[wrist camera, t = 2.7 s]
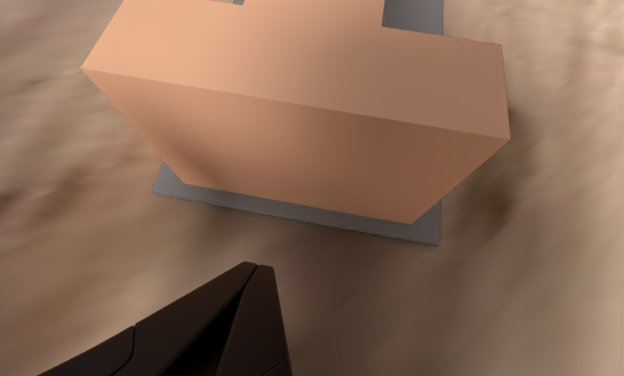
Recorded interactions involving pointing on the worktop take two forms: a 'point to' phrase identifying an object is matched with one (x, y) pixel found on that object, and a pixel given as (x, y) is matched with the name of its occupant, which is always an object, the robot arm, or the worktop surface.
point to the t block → (304, 100)
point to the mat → (426, 229)
